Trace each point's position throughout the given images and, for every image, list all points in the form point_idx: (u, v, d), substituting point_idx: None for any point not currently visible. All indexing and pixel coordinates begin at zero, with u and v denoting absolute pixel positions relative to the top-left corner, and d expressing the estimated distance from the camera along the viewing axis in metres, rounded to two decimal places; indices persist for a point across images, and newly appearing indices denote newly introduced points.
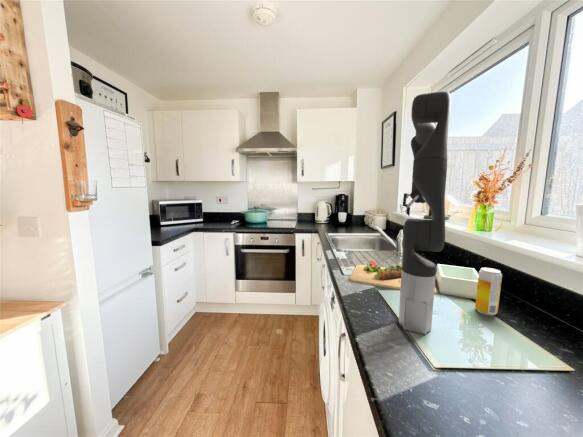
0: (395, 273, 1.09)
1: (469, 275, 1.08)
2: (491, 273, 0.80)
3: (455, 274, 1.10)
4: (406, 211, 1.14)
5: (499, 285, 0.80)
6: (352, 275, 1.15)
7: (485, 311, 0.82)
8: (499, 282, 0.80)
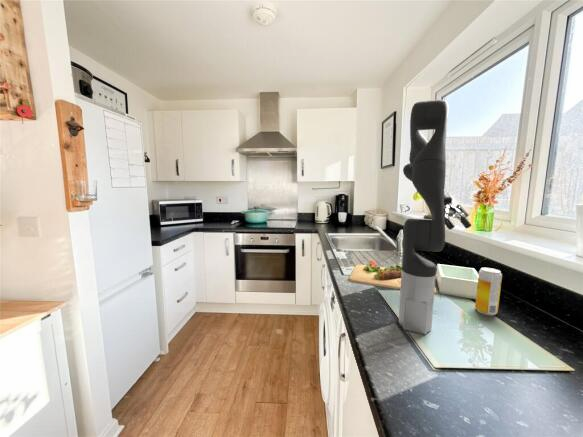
0: (395, 273, 1.09)
1: (469, 275, 1.08)
2: (491, 273, 0.80)
3: (455, 274, 1.10)
4: (448, 223, 0.90)
5: (499, 285, 0.80)
6: (352, 275, 1.15)
7: (485, 311, 0.82)
8: (499, 282, 0.80)
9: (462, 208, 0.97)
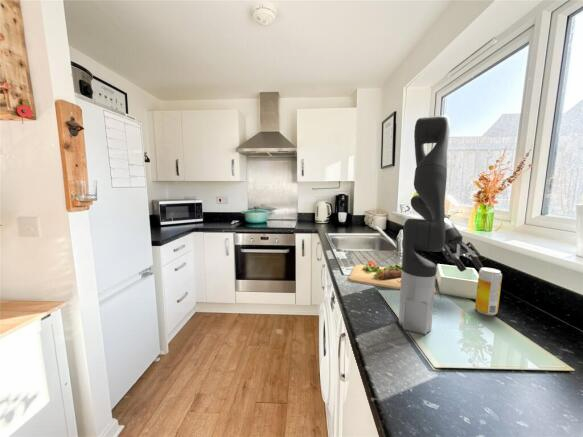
0: (394, 273, 1.10)
1: (469, 275, 1.08)
2: (491, 273, 0.80)
3: (455, 274, 1.10)
4: (459, 264, 0.87)
5: (499, 285, 0.80)
6: (351, 275, 1.15)
7: (485, 311, 0.82)
8: (499, 282, 0.80)
9: (473, 246, 0.94)
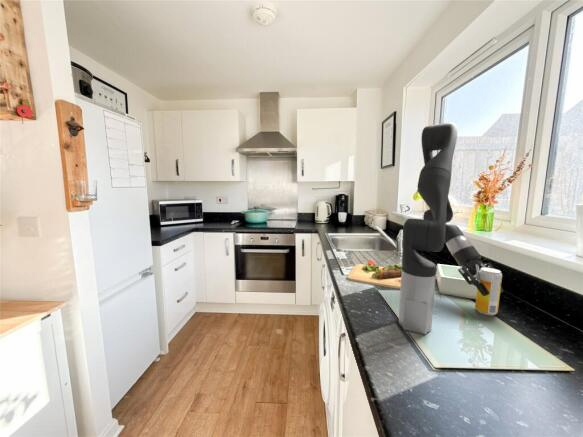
0: (393, 272, 1.10)
1: None
2: (491, 273, 0.80)
3: (455, 274, 1.10)
4: (482, 289, 0.81)
5: (499, 285, 0.80)
6: (350, 274, 1.16)
7: (485, 311, 0.82)
8: (499, 282, 0.80)
9: None
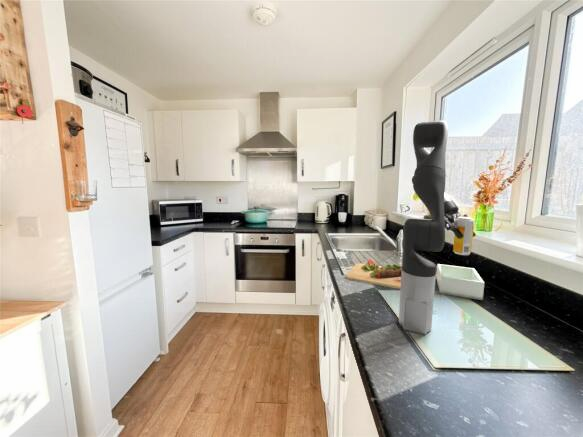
0: (391, 272, 1.11)
1: (469, 275, 1.08)
2: (465, 219, 0.96)
3: (455, 274, 1.10)
4: (457, 232, 0.97)
5: (472, 229, 0.96)
6: (349, 273, 1.18)
7: (460, 251, 0.98)
8: (471, 226, 0.96)
9: None
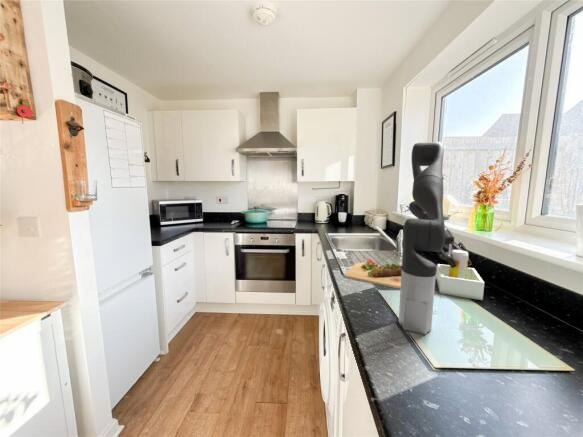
0: (389, 271, 1.12)
1: (469, 275, 1.08)
2: (459, 253, 0.99)
3: None
4: (451, 262, 1.00)
5: (466, 263, 0.99)
6: (348, 272, 1.19)
7: None
8: (466, 261, 0.99)
9: (463, 246, 1.07)
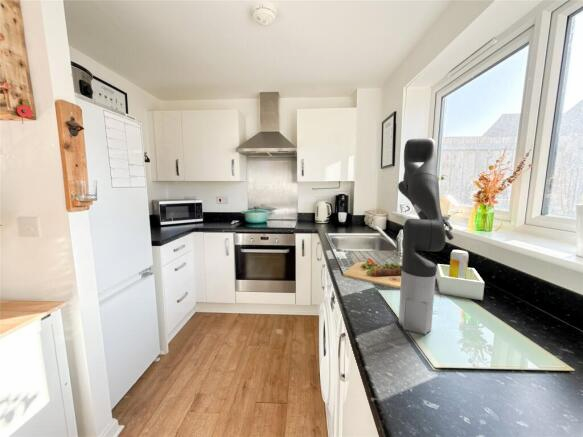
0: (387, 271, 1.12)
1: (469, 275, 1.08)
2: (459, 253, 0.99)
3: None
4: None
5: (466, 263, 0.99)
6: (347, 271, 1.21)
7: None
8: (466, 261, 0.99)
9: (447, 222, 1.12)
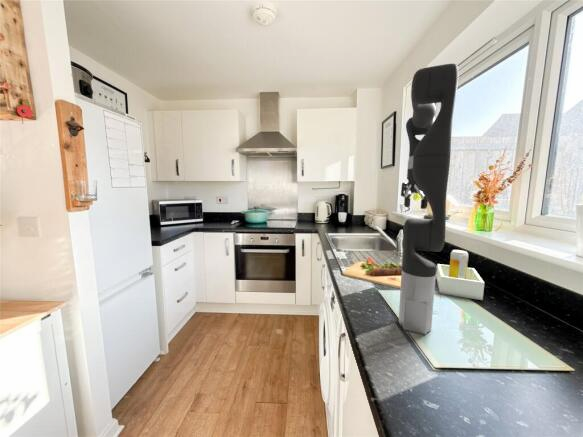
0: (386, 270, 1.13)
1: (469, 275, 1.08)
2: (459, 253, 0.99)
3: None
4: (404, 202, 1.05)
5: (466, 263, 0.99)
6: (346, 270, 1.22)
7: None
8: (466, 260, 0.99)
9: None
